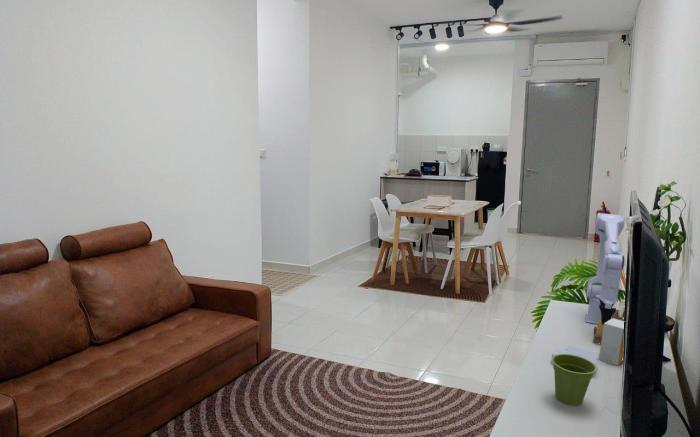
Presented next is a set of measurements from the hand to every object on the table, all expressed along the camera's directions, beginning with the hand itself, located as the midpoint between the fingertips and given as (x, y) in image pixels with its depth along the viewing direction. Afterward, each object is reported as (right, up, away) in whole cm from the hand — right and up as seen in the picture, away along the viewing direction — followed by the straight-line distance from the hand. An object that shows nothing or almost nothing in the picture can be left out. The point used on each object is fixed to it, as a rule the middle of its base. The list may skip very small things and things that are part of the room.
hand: (604, 321), depth 192 cm
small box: (-5, -10, -16) cm, 19 cm away
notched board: (0, -7, +1) cm, 7 cm away
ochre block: (-1, -7, +1) cm, 7 cm away
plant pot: (-32, -14, -44) cm, 56 cm away
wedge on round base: (-22, -11, -22) cm, 33 cm away
